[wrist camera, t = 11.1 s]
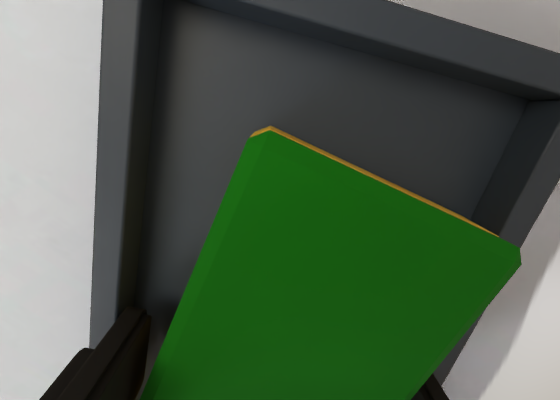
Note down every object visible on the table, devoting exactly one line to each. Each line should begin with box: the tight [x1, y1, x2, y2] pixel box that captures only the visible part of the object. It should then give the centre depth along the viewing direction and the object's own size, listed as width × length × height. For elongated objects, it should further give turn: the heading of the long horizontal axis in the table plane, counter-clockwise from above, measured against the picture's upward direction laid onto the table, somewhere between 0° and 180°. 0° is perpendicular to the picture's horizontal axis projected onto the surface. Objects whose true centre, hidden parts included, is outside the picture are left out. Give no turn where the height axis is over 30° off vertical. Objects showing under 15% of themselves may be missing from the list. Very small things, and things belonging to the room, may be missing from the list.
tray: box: [89, 0, 560, 400], centre depth 10 cm, size 24×12×2 cm, turn 166°
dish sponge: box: [140, 126, 521, 400], centre depth 9 cm, size 7×14×2 cm, turn 155°
